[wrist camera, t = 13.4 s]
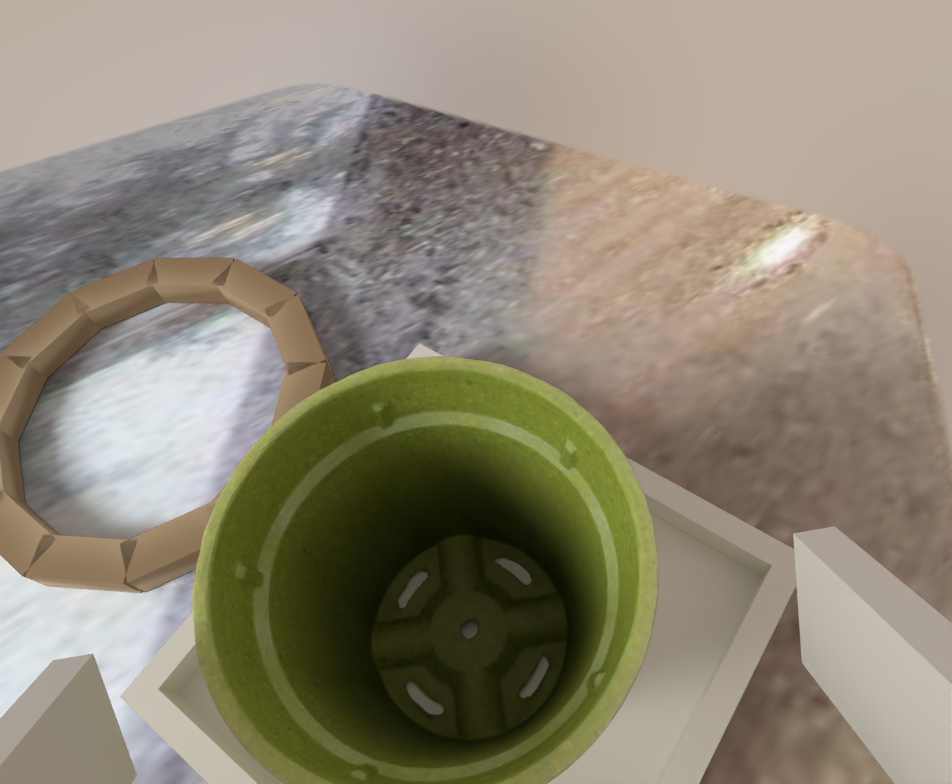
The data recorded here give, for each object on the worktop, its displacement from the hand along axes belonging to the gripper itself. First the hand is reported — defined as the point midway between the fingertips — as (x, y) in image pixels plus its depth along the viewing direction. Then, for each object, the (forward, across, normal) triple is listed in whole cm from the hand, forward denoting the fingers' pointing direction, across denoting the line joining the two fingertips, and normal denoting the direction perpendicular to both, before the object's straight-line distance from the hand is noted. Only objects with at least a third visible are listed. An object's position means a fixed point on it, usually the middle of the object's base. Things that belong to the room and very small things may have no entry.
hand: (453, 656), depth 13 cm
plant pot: (+8, 0, -5) cm, 9 cm away
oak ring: (+16, -12, +2) cm, 20 cm away
